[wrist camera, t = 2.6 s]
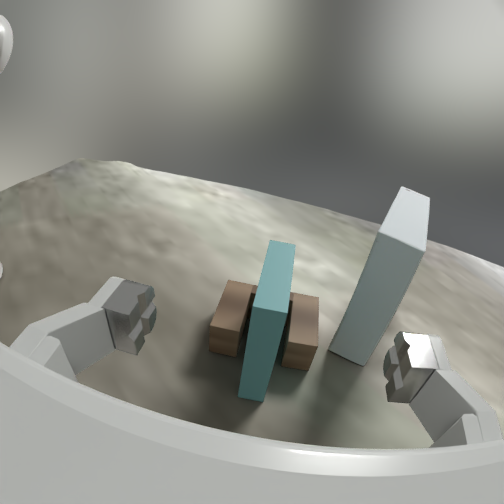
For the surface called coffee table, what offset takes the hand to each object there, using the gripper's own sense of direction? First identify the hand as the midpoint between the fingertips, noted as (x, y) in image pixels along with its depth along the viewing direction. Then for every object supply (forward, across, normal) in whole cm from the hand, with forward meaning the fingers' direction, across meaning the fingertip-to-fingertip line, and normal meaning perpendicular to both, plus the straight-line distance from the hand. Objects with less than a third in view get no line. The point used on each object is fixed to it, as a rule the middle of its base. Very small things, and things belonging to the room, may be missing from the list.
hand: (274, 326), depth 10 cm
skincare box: (+27, -14, +20) cm, 36 cm away
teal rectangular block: (+15, 0, +20) cm, 25 cm away
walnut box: (+19, +1, +19) cm, 27 cm away
